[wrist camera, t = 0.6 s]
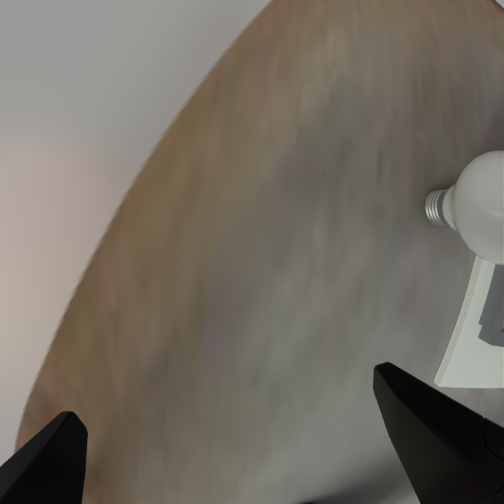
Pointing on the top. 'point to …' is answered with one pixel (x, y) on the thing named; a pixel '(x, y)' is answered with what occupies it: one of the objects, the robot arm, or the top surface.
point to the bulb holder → (477, 333)
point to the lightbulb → (474, 206)
